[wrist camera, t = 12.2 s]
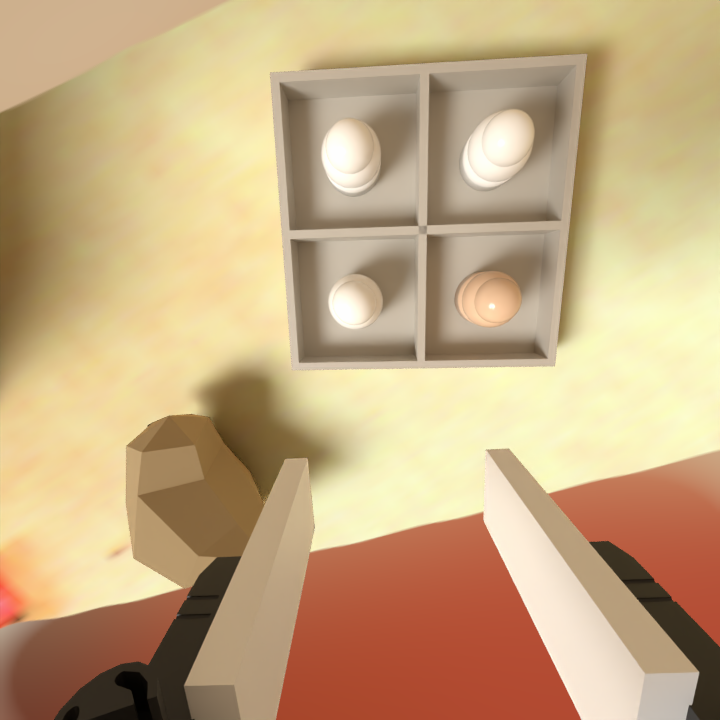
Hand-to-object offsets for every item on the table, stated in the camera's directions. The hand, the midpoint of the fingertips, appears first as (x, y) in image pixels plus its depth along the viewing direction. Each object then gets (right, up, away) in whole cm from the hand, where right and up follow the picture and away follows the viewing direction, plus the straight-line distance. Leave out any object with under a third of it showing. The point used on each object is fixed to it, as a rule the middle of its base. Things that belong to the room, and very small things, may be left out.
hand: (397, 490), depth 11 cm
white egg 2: (-1, +10, +17) cm, 20 cm away
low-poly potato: (-15, -6, +22) cm, 27 cm away
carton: (+4, +15, +16) cm, 22 cm away
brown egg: (+9, +10, +17) cm, 21 cm away
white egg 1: (-2, +19, +15) cm, 25 cm away
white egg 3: (+8, +20, +14) cm, 26 cm away
